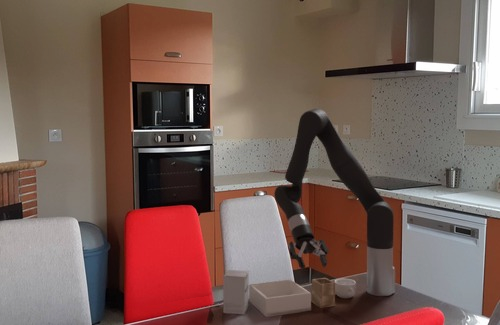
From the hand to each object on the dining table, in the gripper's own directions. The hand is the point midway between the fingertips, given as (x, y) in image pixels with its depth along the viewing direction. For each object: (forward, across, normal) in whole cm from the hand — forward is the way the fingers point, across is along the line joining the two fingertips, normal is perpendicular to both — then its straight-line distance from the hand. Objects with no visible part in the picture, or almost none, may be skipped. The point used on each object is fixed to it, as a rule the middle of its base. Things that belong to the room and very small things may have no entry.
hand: (314, 266), depth 179 cm
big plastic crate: (+10, -15, +6) cm, 19 cm away
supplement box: (+9, -30, +7) cm, 32 cm away
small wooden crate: (+13, 0, +3) cm, 13 cm away
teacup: (+11, +11, +6) cm, 16 cm away
